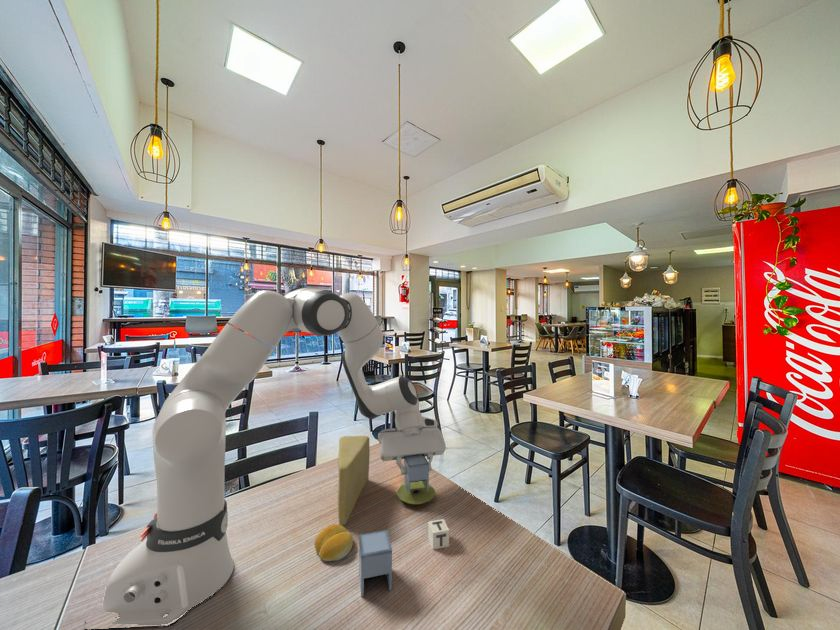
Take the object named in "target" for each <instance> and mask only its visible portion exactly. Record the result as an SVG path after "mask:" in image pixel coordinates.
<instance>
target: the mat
mask: <svg viewBox="0 0 840 630" xmlns="http://www.w3.org/2000/svg"><path fill="white" fill-rule="evenodd" d="M396 493H397V494H396V495H397V497H398V498H399V500H401V501H403V502H404V503H407V504H409V505H410V504H411V505H421V504H425V503H427V502H430V501H431V500H432V499H434V498H435V495H436V489H435V488H434V487H433V486H432V485H431V484H429V491H427V490H426V488H425V486H424V484H423V482H422V481H419V482H412V483H410V494H408V492H407V489H406V486H405V484H404V483H403V484H402V485H400V486H399V488H398V489H397V492H396Z"/></svg>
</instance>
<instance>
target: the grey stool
mask: <svg viewBox="0 0 840 630" xmlns="http://www.w3.org/2000/svg"><path fill="white" fill-rule="evenodd" d="M428 462H429V460H427V457H425V456H424V454H421V455H412V456H404V459H403V466H406V468H407V469H406V470H407V474H405V475H403V485H404V484H405V486H406V489H407V492H408V494H410V483H412V482H423V484H424V486H425V488H426V490H427V491H429V485H430V483H429V482H430V479H429V478H430V475H429V473H430V471H429V463H428Z"/></svg>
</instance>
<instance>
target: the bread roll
mask: <svg viewBox="0 0 840 630" xmlns="http://www.w3.org/2000/svg"><path fill="white" fill-rule="evenodd" d="M353 537H354V536H353V535H352V534H351V532H349V531H348V530H347V528H345V526H344V525H342V526H341V525H339V524H336V523H335V524H331V525H327V526H326V527H324V528H323V529H322V530H321V531H319V533H318V534H317V536H316V537H315V539H314V549H315V551H316V552H317V554H318V555H319V558H320V559H321V560H322V561H324V562H334V561H340V560H342V559H343V558H345V557H346V556H348V554H349V553H350V551H351V550H352V548H353V545H354V544H353V543H354V538H353Z"/></svg>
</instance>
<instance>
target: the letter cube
mask: <svg viewBox="0 0 840 630" xmlns="http://www.w3.org/2000/svg"><path fill="white" fill-rule="evenodd" d="M427 538H428V541H429V544H430V546H431V548H432V550H438V549H442V548H443V549H444V548H447V547H450V529H449V527H448V525H447V523H446V520H445V519H444V518H442V519H437V520H436V519H435V520H429V521H428V522H427Z"/></svg>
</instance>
